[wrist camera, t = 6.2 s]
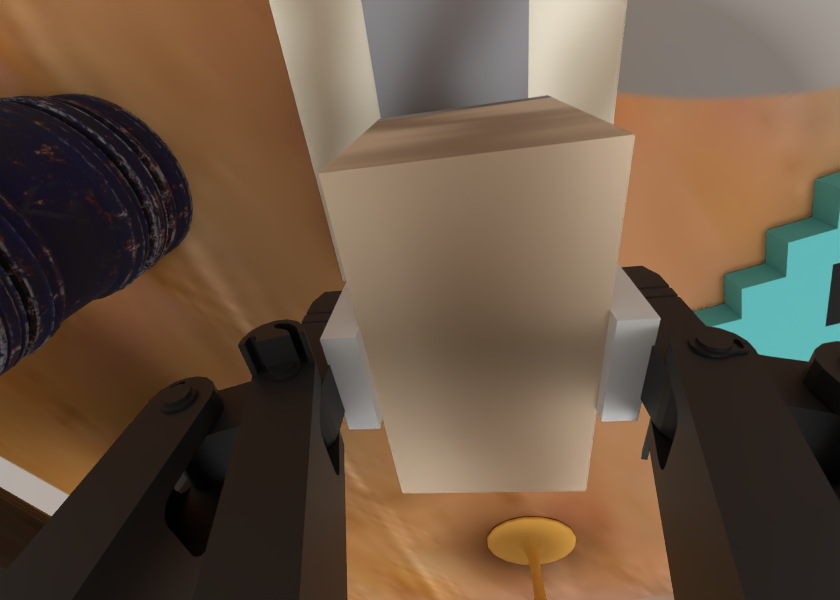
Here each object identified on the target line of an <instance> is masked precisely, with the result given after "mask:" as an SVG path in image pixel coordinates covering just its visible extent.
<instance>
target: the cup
mask: <svg viewBox="0 0 840 600" xmlns="http://www.w3.org/2000/svg"><path fill="white" fill-rule="evenodd" d="M487 540H488V548H489V549H490V550H491V551H492V553H493V554H494V555H495V556H497V557H499V558H501V559H503V560H505V561H507V562H512V563H516V564H521V565H529V567H530V571H531V577H532V582H533V589H534V597H535V600H547V599H546V595H545V590H544V585H543V580H542V573H541V566H540V564H545V563H550V562H554V561H557V560H559V559H561V558H563V557H565V556H567V555H568V554H569V553H570V552H571V551H572V550H573V549H574V548H575V543H576V536H575V535H574V533H573V532H572V530H571V528H569V527H568V526H566V525H564V524H562V523H561V522H559V521H557V520H552V519H548V518H544V517H521V518H517V519H512V520H508V521H505V522H504V523H502V524H500V525H498V526H496V527H494V528H493V530H492V531H491V532H490V534H489V535H488V537H487Z"/></svg>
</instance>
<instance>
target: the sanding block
mask: <svg viewBox="0 0 840 600" xmlns="http://www.w3.org/2000/svg"><path fill="white" fill-rule="evenodd" d="M634 140H635V134H633V133H631V132H629V131H626V130H624V129H622V128H620V127H618V126H615V125H613V124H611V123H609V122H606V121H604V120H602V119H600V118H597V117H595V116H593V115H591V114H589V113H586V112H584V111H582V110H580V109H577V108H575V107H573V106H571V105H568V104H566V103H564V102H562V101H560V100H557V99H555V98H553V97H551V96H548V95H546V96H539V97H532V98H525V99H518V100H510V101H503V102H496V103H489V104H482V105H474V106H467V107H460V108H453V109H446V110H439V111H431V112H424V113H417V114H410V115H403V116H395V117H388V118H381V119H379V120H377V121H376V122H375V123H374V124H373V125H372V126H371V127H370V128H369V129H367V130H366V131H365V132H364V133H363V134H362V135H361V136H360V137H359V138H357V139H356V140H355V141H354V142H353V143H352V144H351V145H350V146H349V147H347V148H346V149H345V150H344V151H343V152H342V153H341V154H340V155H338V156H337V157H336V158H335V159H334V160H333V161H332V162H331V163H330V164H328V165H327V166H326V167H325V168H324V169H323V170H322V171H321V172H320V173H318V174H319V178H320V182H321V185H322V189H323V193H324V197H325V201H326V204H327V208H328V212H329V216H330V220H331V223H332V227H333V231H334V235H335V239H336V243H337V246H338V250H339V254H340V258H341V262H342V265H343V269H344V273H345V277H346V281H347V284H348V288H349V292H350V296H351V300H352V303H353V307H354V311H355V315H356V319H357V322H358V326H359V327H360V330H361V334H362V338H363V342H364V346H365V350H366V354H367V358H368V362H369V366H370V369H371V373H372V377H373V381H374V385H375V389H376V393H377V397H378V401H379V405H380V408H381V412H382V416H383V421H384V425H385V429H386V433H387V436H388V440H389V444H390V448H391V452H392V455H393V459H394V463H395V467H396V471H397V475H398V478H399V482H400V486H401V490H402V493H466V492H543V491H586V486H587V479H588V472H589V464H590V457H591V450H592V443H593V435H594V428H595V421H596V414H597V409H596V407H597V400H598V393H599V386H600V379H601V372H602V365H603V358H604V351H605V344H606V337H607V330H608V323H609V316H610V310H611V306H612V298H613V291H614V284H615V277H616V269H617V262H618V255H619V248H620V241H621V233H622V226H623V219H624V212H625V204H626V197H627V190H628V183H629V176H630V168H631V161H632V154H633V147H634Z"/></svg>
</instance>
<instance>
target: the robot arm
mask: <svg viewBox="0 0 840 600" xmlns="http://www.w3.org/2000/svg"><path fill="white" fill-rule="evenodd" d="M238 347H239V349H240V351H241V353H242V355H243V357H244V360H245V362H246V364H247V366H248V368H249V370H250V372H251V374H252V380H251V381H250V382H247V383H244V384H241V385H237V386H234V387H230V388H226V389H223V390H219V391H217V389H216V387H215V385H214V383H213V382H212V381H211V380H210V379H208V378H207V377H192V378H187V379H183V380H180V381H178V382H175V383H173V384H171V385H169V386H168V387H166V388H165V389H163V390H162V391H160V392H159V393H158V394H157V395H156V396H155V397H153V398H152V399H151V400H150V401H149V402H148V404H147V405H146V406H145V407H144V408H143V410H142V411H141V412H140V413H139V414H138V415H137V417H136V418H135V419H134V420H133V421H132V423H131V424H130V425H129V426H128V427H127V428H126V430H125V431H124V432H123V433H122V434H121V435H120V437H119V438H118V439H117V440H116V441H115V443H114V444H113V445H112V446H111V447H110V448H109V450H108V451H107V452H106V453H105V454H104V456H103V457H102V458H101V459H100V460H99V461H98V463H97V464H96V465H95V466H94V467H93V468H92V470H91V471H90V472H89V473H88V474H87V476H86V477H85V478H84V479H83V480H82V481H81V483H80V484H79V485H78V486H77V487H76V489H75V490H74V491H73V492H72V493H71V494H70V496H69V497H68V498H67V499H66V500H65V501H64V503H63V504H62V505H61V506H60V507H59V509H58V510H57V511H56V512H55V513H54V514H53V516H50V515H48V514H46V513H45V512H43V511H41V510H39V509H37V508H35V507H34V506H32V505H30V504H29V503H27V502H25V501H24V500H22V499H20V498H18V497H17V496H15V495H13V494H11V493H10V492H8V491H6V490H4V489H3V488H1V487H0V600H347V562H346V517H345V473H344V443H343V439H342V436H341V433H340V426H341V423H342V420H343V416H344V415H345V418H346V421H347V424H348V427H349V430H354V429H380V427H381V422H382V417H383V416H382V412H381V408H380V405H379V401H378V397H377V393H376V389H375V385H374V381H373V377H372V373H371V369H370V366H369V362H368V358H367V354H366V350H365V346H364V342H363V338H362V334H361V330H360V327H359V326H358V322H357V319H356V315H355V311H354V307H353V303H352V300H351V296H350V292H349V288H348V284H347V282H346V284H345V286H344V288H343V290H342V291H333V292H324V293H323V294H322V295H321V296H320V297H318V298H317V299H316V300H315V301H314V302H313V303H312V305H311V306H310V308H309V310H308V312H307V315H305V317H304V319H303V321H302V324H300V323H299V322H297V321H293V320H278V321H273V322H270V323H267V324H263V325H261V326H259V327H258V328H256V329H254V330H252V331H251V332H249V333H248V334H247V335H246V336H245V337H243V339H242V340H241V342H240V343H239V345H238ZM642 402H643V404H644V406H645V408H646V410H647V412H648V413H649V415H650V417H651V418H650V422H649V426H648V430H647V434H646V438H645V442H644V446H643V450H642V457H641V459H645V460H647V459H648V455H649V451H650V455H651V461H652V467H653V473H654V479H655V485H656V491H657V497H658V503H659V509H660V515H661V521H662V527H663V533H664V539H665V545H666V551H667V557H668V563H669V569H670V575H671V581H672V587H673V593H674V599H675V600H840V341H834V342H828V343H823V344H821V345H820V346H818V347H817V348H816V349H815V350H814V352H813V354H812V356H811V358H810V360H809V361H801V360H794V359H786V358H779V357H772V356H765V355H760V354H758V353H757V351H756V349H755V348H754V347H753V346H752V345H751V344H750V343H749V342H748V341H747V340H745V339H744V338H742V337H740V336H738V335H737V334H735V333H732V332H730V331H727V330H724V329H721V328H717V327H710V326H706V325H705V324H704V323H703V322H702V321H701V320H700V319H699V318H698V317H697V315H696V314H695V313H694V312H693V311H692V310H691V309H690V308H689V307H688V306H687V305H686V303H685V302H684V301H683V300H682V299H681V298H680V297H678V296H677V294H676V293H675V291H674V290H673V289H672V288H669V285H668V284H667V283H666V282H665V281H664V280H663V278H662V277H661V276H660V275H659V274H657V273H655V272H653V271H651V270H649V269H647V268H645V267H643V266H633V267H621V266H620V265H619V264H618V262H617V269H616V277H615V284H614V291H613V298H612V306H611V310H610V316H609V323H608V330H607V337H606V344H605V351H604V358H603V365H602V372H601V379H600V386H599V393H598V400H597V407H596V409H597V412H598V414H599V417H600V419H601V422H602V421H634V420H638V416H639V412H640V407H641V403H642Z"/></svg>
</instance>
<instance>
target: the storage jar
mask: <svg viewBox="0 0 840 600" xmlns="http://www.w3.org/2000/svg"><path fill="white" fill-rule="evenodd" d="M192 210H193V209H192V198H191V193H190V189H189V185H188V183H187V180H186V177H185V175H184V172H183V170H182V169H181V167H180V165H179V163H178V161H177V160H176V158H175V156H174V155H173V154H172V152H171V151H170V149H169V148H168V147H167V145H166V144H165V143H164V142H163V141H162V140H161V139H160V137H159V136H158V135H157V134H156V133H155V132H154V131H153V130H152V129H150V128H149V127H148V126H147V125H146V124H145V123H144V122H143V121H141V120H140V119H138V118H137V117H136V116H134V115H133V114H131V113H130V112H128V111H126V110H125V109H123V108H121V107H119V106H117V105H116V104H113V103H111V102H108V101H106V100H103V99H101V98H97V97H93V96H89V95H82V94H65V95H56V96H49V97H35V96H18V97H8V98H0V376H1V375H2V374H4V373H5V372H6V371H8V370H9V369H11V368H12V367H13V366H15V365H16V364H17V363H18V362H19V361H20V359H21V358H23V357H25V356H27V355H30V354H32V353H34V352H35V351H37V350H38V349H40V348H41V347H42V346H43V345H44V344H45V343H46V341H47V340H48V339H49V338H50V337H52V336H53V335H54V334H55V332H56V331H57V330H58V328H59V327H60V325H61V322H62V321H63V320H65V319H66V318H68V317H69V316H71V315H72V314H74V313H75V312H76V311H78V310H79V309H81V308H82V307H84V306H85V305H87V304H88V303H89V302H91V301H92V300H96V299H101V298H104V297H106V296H109V295H111V294H113V293H115V292H117V291H119V290H122V289H124V288H125V287H126V286H128V285H129V284H131V283H132V282H133V280H134V279H136V278H137V277H139V276H140V275H141V274H143V273H144V272H146V271H147V270H148V269H150V268H151V267H152V266H154V265H155V264H156V262H157V261H158V260H159V259H160V258H161V257H163V255H166V254H167V253H168V252H170V251H171V250H173V249H174V248H175V247H177V246H178V245H179V244H180V243H181V242H182V240H183V239H184V238H185V236H186V234H187V232H188V231H189V228H190V224H191V221H192Z"/></svg>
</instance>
